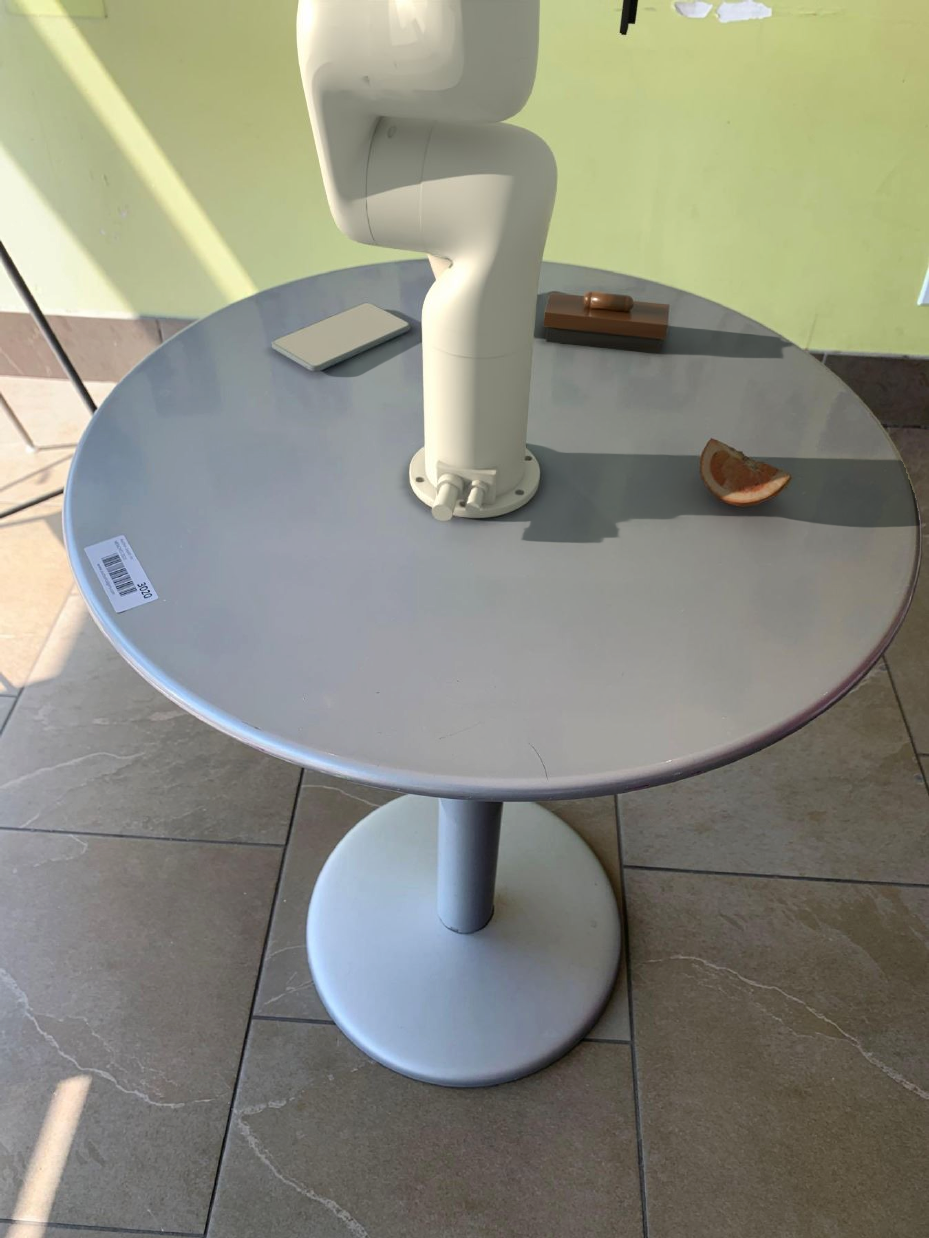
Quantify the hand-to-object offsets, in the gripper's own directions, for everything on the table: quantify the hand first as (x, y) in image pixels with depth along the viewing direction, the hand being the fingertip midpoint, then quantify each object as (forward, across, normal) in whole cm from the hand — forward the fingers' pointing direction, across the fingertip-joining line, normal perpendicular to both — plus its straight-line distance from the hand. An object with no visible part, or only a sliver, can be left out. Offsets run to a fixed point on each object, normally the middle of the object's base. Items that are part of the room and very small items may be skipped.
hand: (577, 29), depth 94 cm
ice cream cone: (+29, -11, -7) cm, 32 cm away
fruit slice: (+30, +22, -38) cm, 53 cm away
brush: (+29, +7, -10) cm, 31 cm away
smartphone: (+29, -23, -17) cm, 41 cm away
